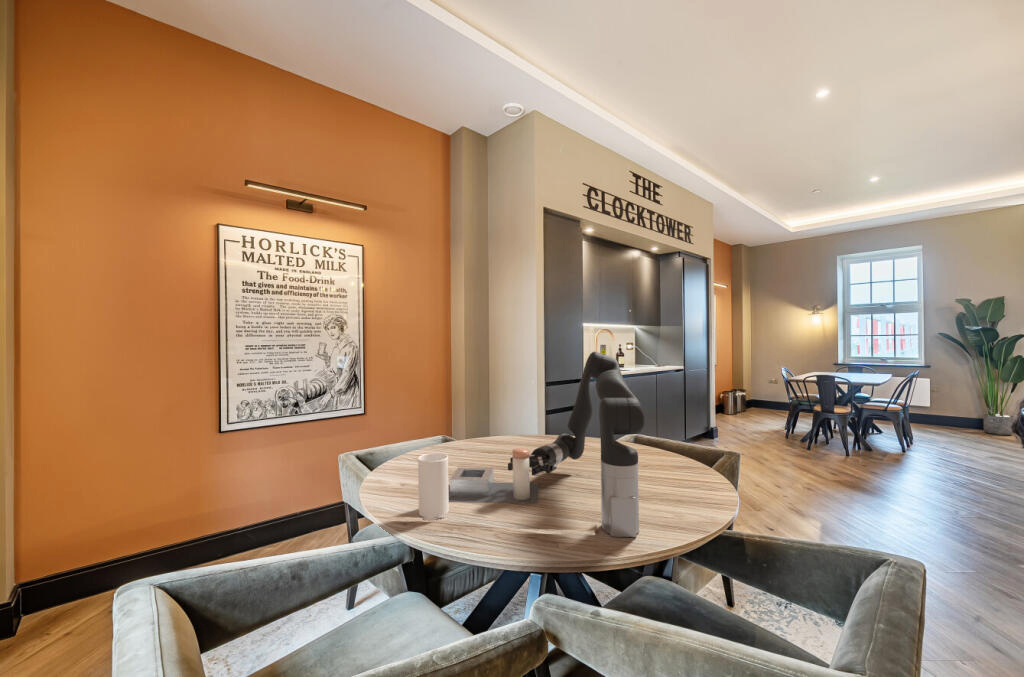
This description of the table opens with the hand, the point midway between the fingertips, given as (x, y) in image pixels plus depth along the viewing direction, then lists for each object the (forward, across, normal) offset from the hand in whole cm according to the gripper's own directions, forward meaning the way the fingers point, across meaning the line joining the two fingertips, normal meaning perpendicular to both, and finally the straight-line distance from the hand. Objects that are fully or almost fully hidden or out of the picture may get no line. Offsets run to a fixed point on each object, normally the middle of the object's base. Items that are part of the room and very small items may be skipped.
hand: (520, 469), depth 122 cm
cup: (+21, -15, +10) cm, 28 cm away
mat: (0, -10, +10) cm, 14 cm away
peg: (0, 0, +8) cm, 9 cm away
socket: (+2, -17, +8) cm, 19 cm away
